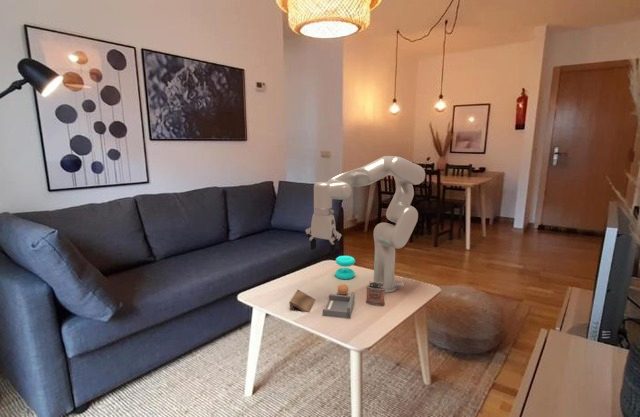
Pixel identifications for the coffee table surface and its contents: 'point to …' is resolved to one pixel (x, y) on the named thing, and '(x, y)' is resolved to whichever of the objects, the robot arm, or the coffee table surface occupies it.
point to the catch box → (339, 306)
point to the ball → (342, 289)
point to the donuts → (345, 261)
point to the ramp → (301, 301)
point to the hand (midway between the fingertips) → (322, 250)
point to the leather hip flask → (375, 293)
